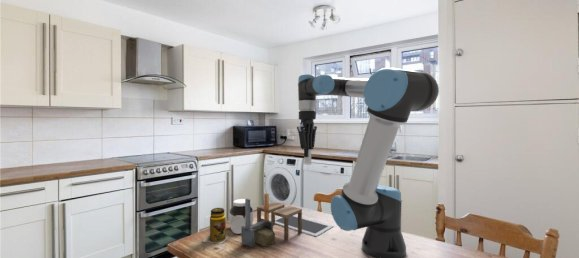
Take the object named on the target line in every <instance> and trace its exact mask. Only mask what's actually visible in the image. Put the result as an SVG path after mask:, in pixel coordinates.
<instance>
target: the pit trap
mask: <svg viewBox="0 0 579 258" xmlns="http://www.w3.org/2000/svg"><path fill="white" fill-rule="evenodd" d="M275 224H276V225H278V226H281V227H284V218H283V217H280V216H277V218H276V217H275ZM333 228H334V225H331V224H328V223H324V222H321V221H317V220H315V219H314V220H313V219H309V218H307V217H303V216H302V234H306V235H310V236H311V237H315V238H318V237H319V236H321V235H322V234H323V233H326V232H328V231H329V230H331V229H333ZM288 229H290V230H293V231H297V232H298V215H297V214H296V215H293V216H291V217H289V218H288Z"/></svg>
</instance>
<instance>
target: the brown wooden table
mask: <svg viewBox="0 0 579 258" xmlns="http://www.w3.org/2000/svg"><path fill="white" fill-rule="evenodd" d="M262 212H263V213H264V204H262V205H259V206H256V223H258V222H260V219H262ZM269 214H270V215H271V216H270V221H271V222H273V226H275V219H276V216H277V217H283V218H284V226H283V238H284V240H283V241H284V242H288V241H289V228H288V218H289V217H291V216H293V215H296V216H298V231H297V234H299V235H301V234H303V232H302V217H303V209H302V208H300V207H295V206H291V205H288V206H285V204H284V203H281V202H276V201H271V202H270V201H269Z"/></svg>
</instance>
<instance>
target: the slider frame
mask: <svg viewBox="0 0 579 258" xmlns="http://www.w3.org/2000/svg"><path fill="white" fill-rule="evenodd" d="M263 197H264V198H263V199H264V201H263V205H264V212H263V215H264V216H263V217H264V218H261V219H260V222H258V223H257V222H256V223H254V224H252V225H251V226H250V206H251V199H249V198H244V199H245V226H242V233H241V244H242V245H243V244H244V245H246V246H248V247H251V248H254V247H256V246H255V244H256V243H255V242H254V230H255V229H258V228H260V227H265V228H267V229H270V230H272V231H274V225H273V222H271V220H270V213H269V203H270V194H269V193H267V192H265V193H264V194H263Z"/></svg>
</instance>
